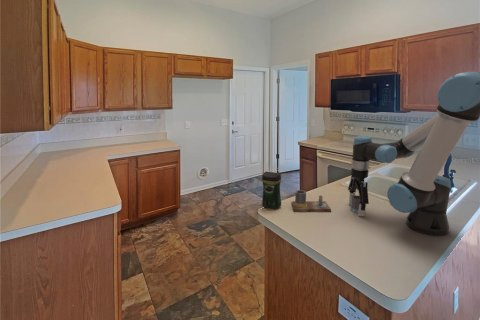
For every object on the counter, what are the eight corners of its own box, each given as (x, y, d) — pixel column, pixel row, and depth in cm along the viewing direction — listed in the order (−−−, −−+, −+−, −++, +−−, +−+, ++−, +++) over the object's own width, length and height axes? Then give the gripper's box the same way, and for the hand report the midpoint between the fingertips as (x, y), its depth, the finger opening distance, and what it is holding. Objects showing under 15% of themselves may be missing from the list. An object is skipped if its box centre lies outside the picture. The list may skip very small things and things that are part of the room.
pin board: (325, 203, 142) (326, 191, 141) (330, 211, 132) (331, 198, 131) (291, 204, 143) (291, 192, 142) (294, 211, 133) (294, 199, 132)
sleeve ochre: (308, 205, 137) (308, 192, 135) (300, 207, 134) (300, 194, 132) (300, 201, 141) (300, 189, 140) (292, 204, 138) (292, 191, 137)
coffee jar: (282, 205, 142) (283, 171, 138) (277, 210, 135) (277, 175, 131) (265, 202, 146) (266, 169, 142) (260, 207, 140) (259, 173, 135)
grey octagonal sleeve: (365, 211, 132) (366, 197, 131) (358, 213, 130) (359, 200, 128) (354, 207, 137) (356, 194, 135) (348, 210, 134) (349, 196, 133)
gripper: (343, 162, 140) (340, 200, 145) (362, 176, 117) (358, 221, 122) (358, 162, 140) (354, 200, 145) (379, 176, 116) (375, 221, 121)
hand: (356, 210), depth 133 cm, fingers open, 12 cm apart
